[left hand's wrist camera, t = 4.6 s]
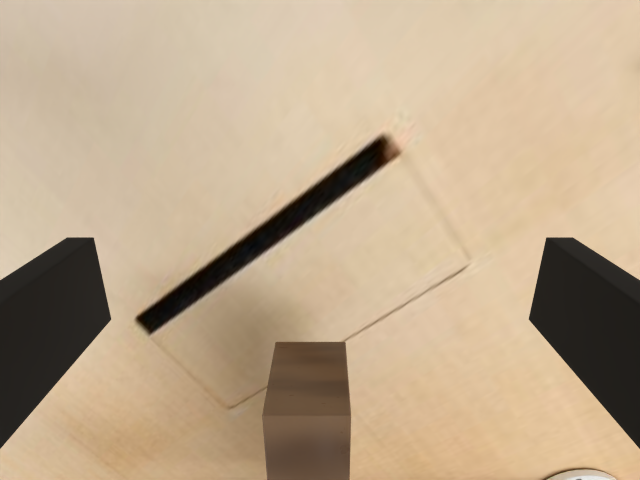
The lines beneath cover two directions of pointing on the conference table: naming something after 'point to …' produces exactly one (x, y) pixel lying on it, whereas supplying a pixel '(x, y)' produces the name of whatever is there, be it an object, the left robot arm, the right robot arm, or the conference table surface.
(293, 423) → the bar
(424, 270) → the conference table surface
